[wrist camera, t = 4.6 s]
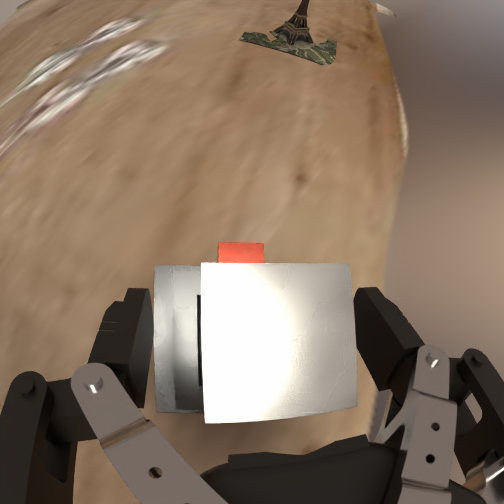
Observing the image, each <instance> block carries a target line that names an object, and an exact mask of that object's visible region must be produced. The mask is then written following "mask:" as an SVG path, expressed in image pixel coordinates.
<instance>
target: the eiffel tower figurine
mask: <svg viewBox="0 0 504 504" xmlns="http://www.w3.org/2000/svg"><path fill="white" fill-rule="evenodd" d="M308 3H309V0H302V2H301V4H300V6H299V8H298V9H297V11H296V12H295V14H294V15H293V16H292V17H291V19H290V20H289V21H285V24H284V25H282V26H280V27H279V28H277V29H275V30H274V31H270V33H271V34H272V35H273V36H275V37H276V38H277V39H276V40H274V41H270V40H269V39H268V38H267V36H266V35H265V34H262V33H258V32H252V33H247V32H244V34H243V35H242V37H241V38H240V40H243V41H248V42H252V43H255V44H259V45H262V46H266V47H270V48H274V49H277V50H281V51H284V52H288V53H291V54H294V55H297V56H300V57H303V58H305V59H308V60H311V61H313V62H316V63H318V64H320V65H328V64H332V62H333V61H334V59H335V55H336V46H337V42H336V41H333V40H330V39H327V41H326V42H323V43H320V44H314V43H313V40H312V38H311V36H310V33H309V28H308V27H307V18H306V17H307V8H308ZM296 18H297V20H295V19H296ZM301 21H302V22H301ZM284 29H287V30H284ZM304 35H305V36H304Z"/></svg>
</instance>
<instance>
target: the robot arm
mask: <svg viewBox="0 0 504 504" xmlns="http://www.w3.org/2000/svg"><path fill="white" fill-rule="evenodd" d="M353 305H354V318H355V334H356V347H357V349H358V351H359V353H360V355H361V357H362V359H363V360H364V362H365V364H366V366H367V368H368V370H369V372H370V374H371V376H372V378H373V380H374V382H375V384H376V386H377V388H378V390H379V391H383V390H387V389H391V391H392V393H391V394H390V396H389V398H388V402H387V406H386V410H385V414H384V417H383V421H382V424H381V427H380V431H379V433H378V436H377V438H376V439H375V441H374V442H369V441H368V439H367V437H366V434H364V435H360V436H356V437H352V438H347V439H343V440H339V441H335V442H333V443H331V444H329V445H327V446H324V447H322V448H320V449H318V450H316V451H313V452H311V453H309V454H306V455H291V454H279V453H270V452H261V453H249V454H233V455H229V458H228V463H225V464H222V465H219V466H216V467H214V468H212V469H210V470H208V471H206V472H204V473H203V474H201V475H200V476H199V475H198V474H197V473H196V472H195V471H194V470H193V469H192V468H191V466H190V465H189V464H188V463H187V462H186V461H185V460H184V459H183V458H182V457H181V456H180V454H179V453H178V452H177V451H176V450H175V449H174V448H173V446H172V445H171V444H170V443H169V442H168V441H167V439H166V438H165V437H164V436H163V435H162V433H161V432H160V431H159V430H158V428H157V427H156V426H155V425H154V424H153V423H152V422H151V421H150V420H147V419H146V418H145V417H144V416H143V415H142V413H141V412H140V411H139V409H138V408H144V403H145V395H146V386H147V379H148V371H149V364H150V357H151V351H152V344H153V338H154V320H153V313H152V306H151V299H150V292H149V289H146V288H128V290H127V293H126V295H125V298H124V301H123V302H121V301H115V302H114V303H113V304H112V305H111V306H110V307H109V308H108V309H107V310H106V312H105V314H104V317H103V320H102V322H101V325H100V328H99V331H98V333H97V336H96V339H95V342H94V345H93V348H92V351H91V354H90V357H89V360H88V363H87V364H86V365H83V366H81V367H80V368H78V369H77V370H76V371H75V373H74V374H73V376H72V378H70V379H65V380H58V381H51V382H46V380H45V379H44V377H43V376H42V375H41V374H39V373H37V372H34V371H28V372H24V373H21V374H19V375H18V376H17V377H16V378H15V379H14V380H13V381H12V383H11V385H10V388H9V391H8V393H7V396H6V399H5V402H4V405H3V409H2V412H1V415H0V504H73V485H74V472H75V461H76V452H77V444H78V441H85V440H92V439H98V440H99V441H100V443H101V444H100V445H101V447H102V449H103V450H104V452H105V454H106V455H107V457H108V458H109V460H110V461H111V463H112V464H113V466H114V467H115V469H116V470H117V472H118V473H119V475H120V476H121V478H122V479H123V481H124V482H125V483H126V485H127V486H128V487H129V489H130V490H131V491H132V493H133V494H134V495H135V497H136V498H137V499H138V501H139V502H140V503H141V504H504V382H503V380H502V378H501V377H500V376H499V374H498V372H497V371H496V370H495V368H494V367H493V365H492V364H491V362H490V361H489V360H488V358H487V357H486V355H484V354H483V353H482V352H481V351H479V350H476V349H472V348H471V349H467V350H466V351H465V352H464V354H463V355H462V357H461V358H448V356H447V355H446V354H445V352H444V351H443V350H441V349H440V348H438V347H436V346H433V345H425V344H424V342H423V341H422V339H421V338H420V337H419V335H418V334H417V332H416V331H415V330H414V328H413V327H412V326H411V324H410V323H409V322H408V320H407V319H406V318H405V316H403V314H402V312H401V311H400V310H399V308H398V307H397V306H396V305H395V304H394V303H392V302H391V301H390V300H388V299H386V298H385V297H384V295H383V294H382V293H381V292H380V290H379V289H378V288H377V287H365V288H358V290H357V291H356V294H355V297H354V300H353ZM471 393H473V395H474V397H475V398H476V400H477V402H478V404H479V405H480V407H481V409H482V418H481V420H480V421H479V422H478V423H476V421H475V419H474V417H473V415H472V413H471V411H470V410H469V408H468V406H467V405H466V402H465V400H466V399H467V397H468V396H469V395H470V394H471ZM453 451H454V452H455V455H456V457H457V459H458V462H459V464H460V466H461V469H462V471H463V474H464V476H465V478H466V481H465V483H464V484H463V485H460V484H458V483H456V482H454V481H452V480H450V479H449V477H450V472H451V465H452V458H453Z"/></svg>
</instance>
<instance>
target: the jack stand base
mask: <svg viewBox="0 0 504 504" xmlns="http://www.w3.org/2000/svg"><path fill="white" fill-rule="evenodd" d="M218 263H264V243H232V242H219V243H218ZM154 370H155V392H156V408H157V412H171V413H205V411H204V391H203V365H202V322H201V266H181V265H155V282H154Z"/></svg>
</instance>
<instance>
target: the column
mask: <svg viewBox="0 0 504 504" xmlns="http://www.w3.org/2000/svg"><path fill="white" fill-rule="evenodd" d="M201 322H202V365H203V391H204V411H205V423H233V422H251V421H264V420H275V419H284V418H293V417H300V416H308V415H314V414H321V413H327V412H332V411H338V410H343V409H348V408H353V407H357V356H356V334H355V318H354V305H353V293H352V282H351V272H350V264H303V263H201Z"/></svg>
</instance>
